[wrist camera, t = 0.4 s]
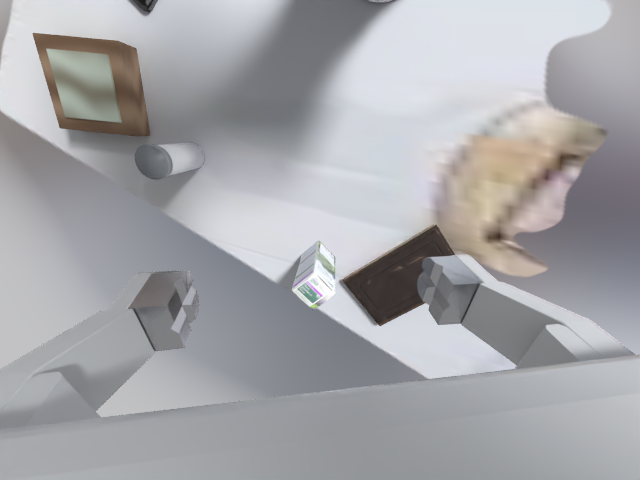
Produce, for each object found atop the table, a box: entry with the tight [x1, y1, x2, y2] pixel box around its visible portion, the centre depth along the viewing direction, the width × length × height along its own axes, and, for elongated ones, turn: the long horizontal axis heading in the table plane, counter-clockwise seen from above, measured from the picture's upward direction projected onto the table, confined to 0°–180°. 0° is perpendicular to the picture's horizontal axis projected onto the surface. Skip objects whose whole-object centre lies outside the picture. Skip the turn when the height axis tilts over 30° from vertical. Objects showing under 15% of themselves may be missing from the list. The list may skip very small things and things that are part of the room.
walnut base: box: [33, 33, 150, 136], centre depth 45 cm, size 14×14×4 cm
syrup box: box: [292, 241, 335, 310], centre depth 51 cm, size 6×6×14 cm
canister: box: [135, 142, 205, 180], centre depth 45 cm, size 5×5×12 cm
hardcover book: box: [343, 225, 455, 326], centre depth 58 cm, size 16×23×2 cm
